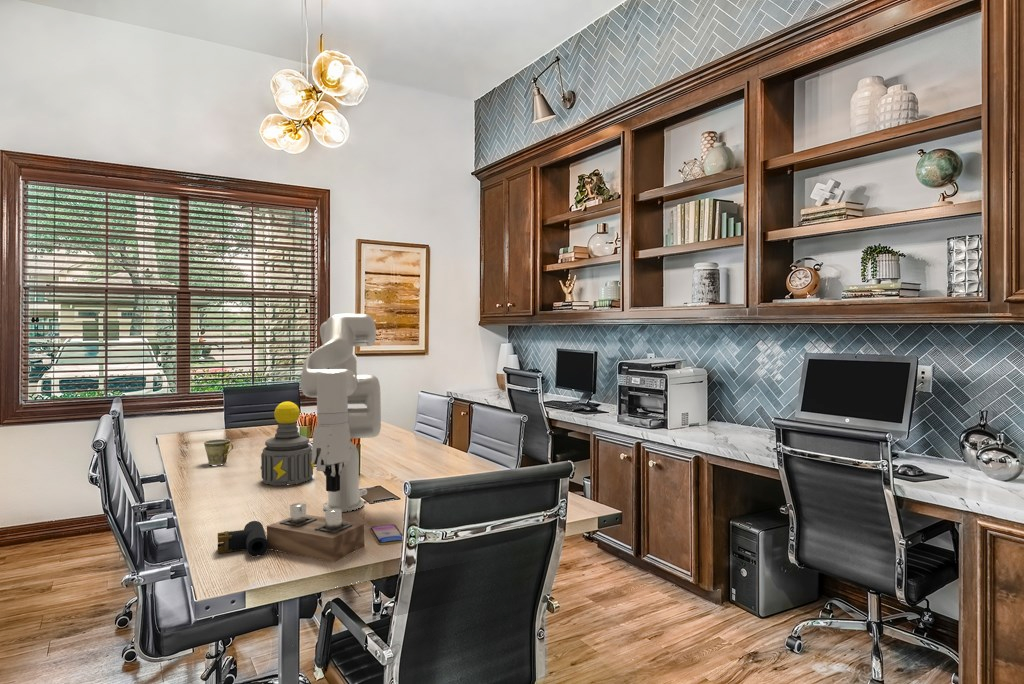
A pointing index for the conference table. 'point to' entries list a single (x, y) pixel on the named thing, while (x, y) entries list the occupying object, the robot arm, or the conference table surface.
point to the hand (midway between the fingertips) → (333, 490)
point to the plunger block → (315, 538)
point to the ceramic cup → (217, 451)
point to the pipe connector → (244, 540)
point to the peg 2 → (333, 519)
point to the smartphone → (386, 534)
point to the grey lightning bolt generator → (287, 450)
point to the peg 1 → (298, 513)
